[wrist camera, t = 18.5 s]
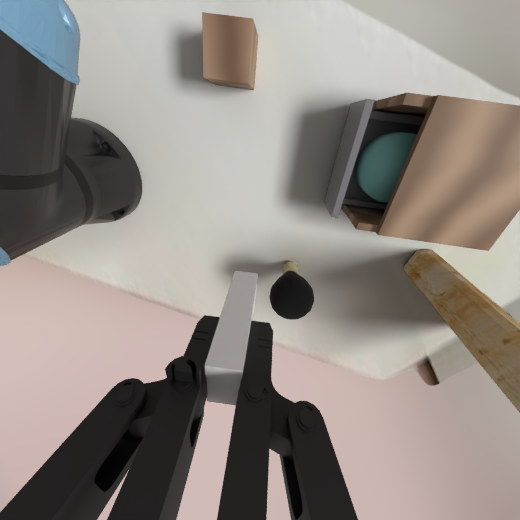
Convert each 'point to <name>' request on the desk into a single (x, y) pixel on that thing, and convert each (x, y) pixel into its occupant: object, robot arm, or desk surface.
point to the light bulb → (291, 294)
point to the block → (229, 50)
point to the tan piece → (472, 319)
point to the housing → (451, 173)
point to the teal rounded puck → (383, 164)
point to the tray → (352, 142)
